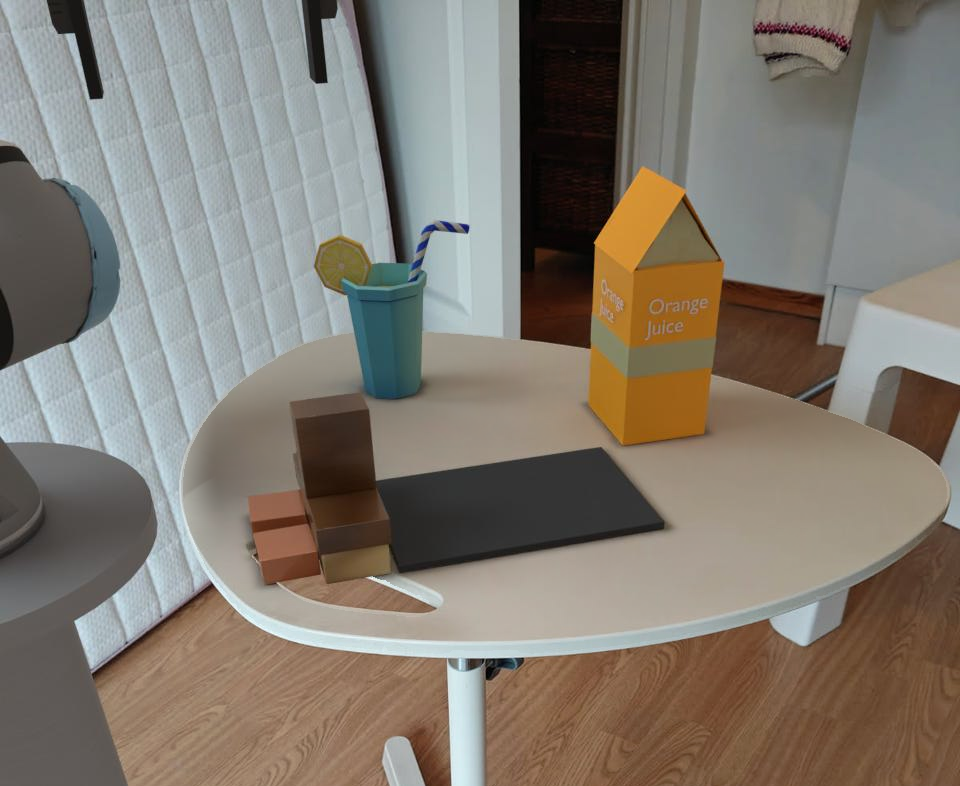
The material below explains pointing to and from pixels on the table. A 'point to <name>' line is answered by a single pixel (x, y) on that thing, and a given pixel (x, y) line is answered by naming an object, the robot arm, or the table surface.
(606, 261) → the orange juice
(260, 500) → the clay chunk
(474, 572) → the table surface
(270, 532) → the clay chunk
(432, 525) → the mat
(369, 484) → the three-tone stepped block
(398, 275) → the cup
